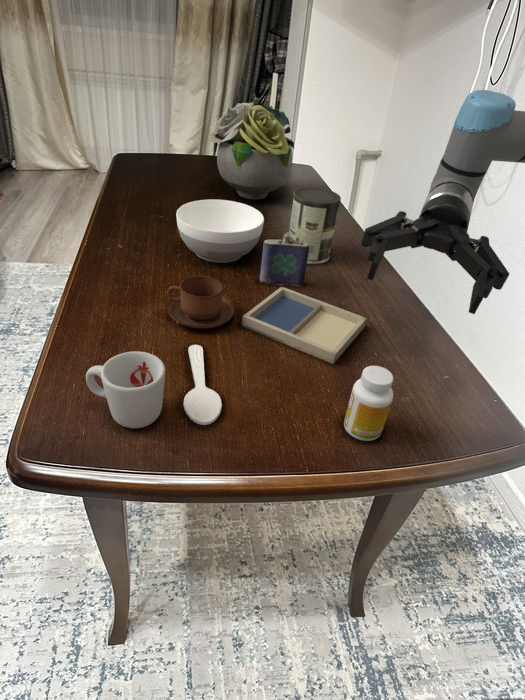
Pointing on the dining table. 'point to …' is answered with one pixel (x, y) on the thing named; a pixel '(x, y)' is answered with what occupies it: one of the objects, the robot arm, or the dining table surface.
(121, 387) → the cup
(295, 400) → the dining table surface
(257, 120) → the flower arrangement
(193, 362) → the spoon
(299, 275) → the flask
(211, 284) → the cup and saucer
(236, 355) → the dining table surface
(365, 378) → the supplement bottle
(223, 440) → the dining table surface
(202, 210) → the bowl
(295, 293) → the sorting tray
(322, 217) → the coffee can
